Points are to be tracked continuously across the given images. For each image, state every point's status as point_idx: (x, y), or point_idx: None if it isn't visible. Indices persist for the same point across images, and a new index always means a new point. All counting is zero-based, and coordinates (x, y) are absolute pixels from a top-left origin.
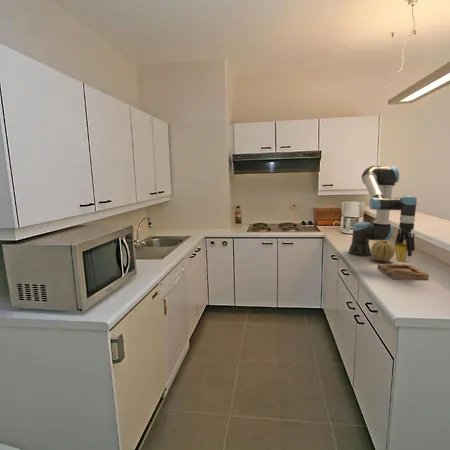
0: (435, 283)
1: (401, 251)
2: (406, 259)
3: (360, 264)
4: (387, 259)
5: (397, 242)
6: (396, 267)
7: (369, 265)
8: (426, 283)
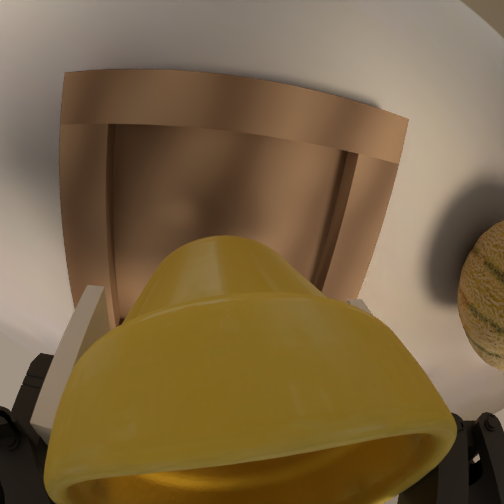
0: (38, 325)
1: (88, 351)
2: (77, 306)
3: (475, 67)
4: (461, 279)
5: (465, 462)
6: (324, 254)
7: (453, 112)
8: (24, 278)
